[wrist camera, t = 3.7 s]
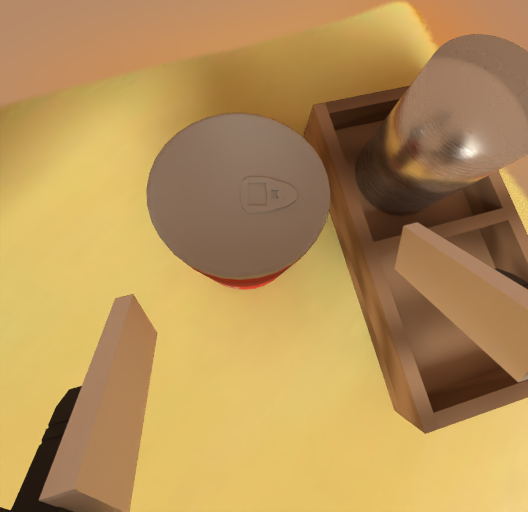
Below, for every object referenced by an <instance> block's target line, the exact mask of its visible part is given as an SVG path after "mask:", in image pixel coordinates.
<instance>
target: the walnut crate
mask: <svg viewBox="0 0 528 512" xmlns="http://www.w3.org/2000/svg"><path fill="white" fill-rule="evenodd" d="M409 87H410V86H407V87H401V88H396V89H391V90H386V91H381V92H376V93H371V94H366V95H361V96H356V97H351V98H346V99H341V100H336V101H331V102H326V103H321V104H316V105H313V108H312V111H311V114H310V117H309V120H308V123H307V126H306V129H305V132H304V135H305V138H306V141H307V142H308V143H309V144H310V145H311V146H312V147H313V148H314V150H315V151H316V153H317V154H318V156H319V157H320V159H321V161H322V163H323V165H324V168H325V170H326V173H327V175H328V181H329V187H330V207H329V211H330V214H331V217H332V220H333V223H334V226H335V229H336V232H337V236H338V239H339V242H340V245H341V248H342V251H343V254H344V257H345V260H346V263H347V266H348V269H349V272H350V275H351V278H352V281H353V284H354V288H355V291H356V294H357V297H358V300H359V303H360V306H361V309H362V312H363V315H364V318H365V321H366V324H367V327H368V330H369V333H370V336H371V340H372V343H373V346H374V349H375V352H376V355H377V358H378V361H379V364H380V367H381V370H382V373H383V376H384V379H385V382H386V385H387V388H388V391H389V395H390V398H391V401H392V404H393V407H394V410H395V411H396V412H397V413H398V414H400V415H401V416H402V417H404V418H405V419H406V420H408V421H409V422H410V423H412V424H413V425H414V426H416V427H417V428H418V429H420V430H421V431H422V432H424V433H425V434H426V433H429V432H432V431H435V430H437V429H440V428H443V427H446V426H449V425H451V424H454V423H457V422H460V421H463V420H465V419H468V418H471V417H474V416H477V415H479V414H482V413H485V412H488V411H491V410H493V409H496V408H499V407H502V406H505V405H508V404H510V403H513V402H516V401H519V400H522V399H524V398H527V397H528V379H527V380H524V381H521V382H517V381H516V380H515V379H514V378H513V377H512V376H511V375H510V374H509V373H507V372H506V371H505V370H504V369H503V368H502V367H501V366H500V365H499V364H498V363H497V362H495V361H494V360H493V359H492V358H491V357H490V356H489V355H488V354H487V353H486V352H485V351H483V350H482V349H481V348H480V347H479V346H478V345H477V344H476V343H475V342H474V341H473V340H471V339H470V338H469V337H468V336H467V335H466V334H465V333H464V332H463V331H462V330H461V329H459V328H458V327H457V326H456V325H455V324H454V323H453V322H452V321H451V320H450V319H449V318H447V317H446V316H445V315H444V314H443V313H442V312H441V311H440V310H439V309H438V308H437V307H435V306H434V305H433V304H432V303H431V302H430V301H429V300H428V299H427V298H426V297H425V296H423V295H422V294H421V293H420V292H419V291H418V290H417V289H416V288H415V287H414V286H413V285H411V284H410V283H409V282H408V281H407V280H406V279H405V278H404V277H403V276H402V275H401V274H399V273H398V272H397V271H396V270H395V264H396V259H397V254H398V249H399V245H400V240H401V235H402V230H403V226H405V225H409V224H413V223H417V222H418V223H419V224H421V225H423V226H424V227H426V228H428V229H429V230H431V231H433V232H434V233H436V234H437V235H439V236H441V237H442V238H444V239H446V240H447V241H449V242H451V243H452V244H454V245H455V246H457V247H459V248H460V249H462V250H464V251H465V252H467V253H469V254H470V255H472V256H473V257H475V258H477V259H478V260H480V261H482V262H483V263H485V264H487V265H488V266H490V267H491V268H493V269H495V268H498V269H501V270H504V271H506V272H509V273H512V274H514V275H516V276H518V277H519V278H521V279H523V280H525V281H526V282H528V235H527V233H526V230H525V228H524V226H523V224H522V222H521V219H520V217H519V215H518V213H517V211H516V208H515V206H514V204H513V202H512V200H511V197H510V195H509V193H508V191H507V188H506V186H505V184H504V182H503V180H502V177H501V175H500V173H499V171H498V170H497V171H496V172H494V173H492V174H490V175H488V176H486V177H484V178H482V179H480V180H478V181H477V182H475V183H473V184H471V185H469V186H467V187H465V188H463V189H461V190H459V191H458V192H456V193H454V194H452V195H450V196H448V197H446V198H444V199H442V200H440V201H439V202H437V203H435V204H433V205H431V206H429V207H427V208H425V209H423V210H421V211H419V212H417V213H415V214H411V215H405V216H397V215H391V214H388V213H385V212H383V211H380V210H379V209H377V208H375V207H374V206H373V205H371V204H370V203H369V202H368V201H367V200H366V199H365V197H364V196H363V195H362V193H361V192H360V190H359V188H358V185H357V182H356V178H355V165H356V161H357V158H358V156H359V154H360V152H361V151H362V149H363V148H364V147H365V145H366V144H367V143H368V141H369V140H370V139H371V137H372V136H373V135H374V133H375V132H376V131H377V129H378V128H379V127H380V125H381V124H382V123H383V121H384V120H385V119H386V117H387V116H388V115H389V113H390V112H391V111H392V109H393V108H394V107H395V105H396V104H397V103H398V101H399V100H400V99H401V97H402V96H403V95H404V93H405V92H406V91H407V89H408V88H409Z"/></svg>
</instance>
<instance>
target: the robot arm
mask: <svg viewBox="0 0 528 512" xmlns="http://www.w3.org/2000/svg"><path fill="white" fill-rule="evenodd" d="M395 270H396V271H397V272H398V273H399V274H401V275H402V276H403V277H404V278H405V279H406V280H407V281H408V282H409V283H410V284H411V285H413V286H414V287H415V288H416V289H417V290H418V291H419V292H420V293H421V294H422V295H423V296H425V297H426V298H427V299H428V300H429V301H430V302H431V303H432V304H433V305H434V306H435V307H437V308H438V309H439V310H440V311H441V312H442V313H443V314H444V315H445V316H446V317H447V318H449V319H450V320H451V321H452V322H453V323H454V324H455V325H456V326H457V327H458V328H459V329H461V330H462V331H463V332H464V333H465V334H466V335H467V336H468V337H469V338H470V339H471V340H473V341H474V342H475V343H476V344H477V345H478V346H479V347H480V348H481V349H482V350H483V351H485V352H486V353H487V354H488V355H489V356H490V357H491V358H492V359H493V360H494V361H495V362H497V363H498V364H499V365H500V366H501V367H502V368H503V369H504V370H505V371H506V372H507V373H509V374H510V375H511V376H512V377H513V378H514V379H515V380H516V381H517V382H521V381H524V380H527V379H528V282H526V281H525V280H523V279H521V278H519V277H518V276H516V275H514V274H512V273H509V272H506V271H504V270H501V269H498V268H495V269H493V268H491V267H490V266H488V265H487V264H485V263H483V262H482V261H480V260H478V259H477V258H475V257H473V256H472V255H470V254H469V253H467V252H465V251H464V250H462V249H460V248H459V247H457V246H455V245H454V244H452V243H451V242H449V241H447V240H446V239H444V238H442V237H441V236H439V235H437V234H436V233H434V232H433V231H431V230H429V229H428V228H426V227H424V226H423V225H421V224H419V223H418V222H417V223H413V224H409V225H405V226H403V230H402V235H401V240H400V245H399V249H398V254H397V259H396V264H395ZM156 338H157V332H156V330H155V329H154V327H153V325H152V324H151V322H150V321H149V319H148V317H147V316H146V314H145V312H144V311H143V309H142V308H141V306H140V304H139V303H138V301H137V300H136V298H135V296H134V295H133V294H131V295H127V296H123V297H120V298H116V299H115V301H114V303H113V306H112V309H111V311H110V314H109V316H108V319H107V322H106V324H105V327H104V330H103V332H102V335H101V338H100V340H99V343H98V345H97V348H96V351H95V353H94V356H93V359H92V361H91V364H90V366H89V369H88V372H87V374H86V377H85V380H84V382H83V385H82V386H80V387H76V388H73V389H69V391H68V392H67V393H66V394H65V396H64V397H63V398H62V400H61V401H60V402H59V404H58V405H57V406H56V408H55V411H54V413H53V415H52V418H51V420H50V422H49V424H48V426H49V428H48V429H46V431H45V434H44V436H43V438H42V444H41V445H39V447H38V450H37V452H36V454H35V457H34V459H33V461H32V463H31V466H30V468H29V470H28V473H27V475H26V477H25V479H24V482H23V484H22V486H21V489H20V491H19V493H18V496H17V498H16V500H15V502H14V505H13V507H12V509H11V510H7V509H4V508H1V507H0V512H129V511H130V504H131V498H132V491H133V485H134V479H135V472H136V466H137V460H138V453H139V447H140V440H141V434H142V428H143V421H144V415H145V408H146V402H147V396H148V389H149V383H150V376H151V370H152V364H153V357H154V351H155V344H156Z"/></svg>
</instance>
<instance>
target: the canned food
mask: <svg viewBox="0 0 528 512" xmlns="http://www.w3.org/2000/svg"><path fill="white" fill-rule="evenodd" d="M147 206H148V210H149V214H150V217H151V221H152V223H153V225H154V227H155V229H156V231H157V233H158V235H159V236H160V238H161V239H162V240H163V242H164V243H165V244H166V245H167V246H168V248H169V249H170V250H171V251H172V252H173V253H174V255H176V256H177V257H178V258H180V259H181V260H182V261H183V262H185V263H186V264H187V265H189V266H190V267H192V268H193V269H195V270H196V271H198V272H200V273H202V274H204V275H205V276H207V277H209V278H211V279H213V280H215V281H216V282H218V283H220V284H222V285H224V286H227V287H231V288H234V289H244V290H245V289H254V288H258V287H261V286H264V285H266V284H268V283H270V282H272V281H273V280H274V279H276V278H277V277H278V276H279V275H281V274H282V273H283V272H284V271H286V270H287V269H288V268H289V267H291V266H292V265H293V264H294V263H296V262H297V261H298V260H299V259H300V258H301V257H302V256H303V255H304V254H306V252H307V251H308V250H309V249H310V247H311V246H312V245H313V244H314V243H315V241H316V240H317V238H318V236H319V234H320V232H321V230H322V228H323V226H324V224H325V222H326V219H327V215H328V211H329V207H330V187H329V181H328V175H327V173H326V170H325V168H324V165H323V163H322V161H321V159H320V157H319V156H318V154H317V153H316V151H315V150H314V148H313V147H312V146H311V145H310V144H309V143H308V142H307V141H306V140H305V139H304V138H303V137H302V136H301V135H300V134H298V133H297V132H295V131H294V130H293V129H291V128H290V127H288V126H286V125H284V124H282V123H280V122H278V121H276V120H274V119H270V118H267V117H263V116H260V115H255V114H246V113H229V114H220V115H216V116H212V117H207V118H205V119H202V120H200V121H197V122H195V123H193V124H191V125H189V126H188V127H186V128H184V129H183V130H181V131H180V132H178V133H177V134H176V135H175V136H174V137H173V138H172V139H171V140H170V141H168V142H167V143H166V144H165V146H164V147H163V149H162V150H161V151H160V153H159V154H158V156H157V157H156V159H155V161H154V164H153V166H152V168H151V171H150V173H149V179H148V184H147Z"/></svg>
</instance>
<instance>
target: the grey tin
mask: <svg viewBox="0 0 528 512" xmlns="http://www.w3.org/2000/svg"><path fill="white" fill-rule="evenodd" d="M526 155H528V52H527V51H526V50H525V49H523V48H521V47H520V46H518V45H516V44H514V43H512V42H510V41H508V40H505V39H502V38H499V37H496V36H490V35H482V34H475V35H474V34H473V35H465V36H461V37H458V38H455V39H452V40H450V41H448V42H447V43H445V44H444V45H442V46H441V47H440V48H439V49H438V50H437V51H436V52H435V53H434V55H433V56H432V57H431V59H430V60H429V61H428V63H427V64H426V65H425V67H424V68H423V69H422V71H421V72H420V73H419V75H418V76H417V77H416V79H415V80H414V81H413V83H412V84H411V85H410V87H409V88H408V89H407V91H406V92H405V93H404V95H403V96H402V97H401V99H400V100H399V101H398V103H397V104H396V105H395V107H394V108H393V109H392V111H391V112H390V113H389V115H388V116H387V117H386V119H385V120H384V121H383V123H382V124H381V125H380V127H379V128H378V129H377V131H376V132H375V133H374V135H373V136H372V137H371V139H370V140H369V141H368V143H367V144H366V145H365V147H364V148H363V149H362V151H361V152H360V154H359V156H358V158H357V161H356V165H355V178H356V182H357V185H358V188H359V190H360V192H361V193H362V195H363V196H364V197H365V199H366V200H367V201H368V202H369V203H370V204H371V205H373V206H374V207H375V208H377V209H379V210H380V211H383V212H385V213H388V214H391V215H397V216H405V215H411V214H415V213H417V212H419V211H421V210H423V209H425V208H427V207H429V206H431V205H433V204H435V203H437V202H439V201H440V200H442V199H444V198H446V197H448V196H450V195H452V194H454V193H456V192H458V191H459V190H461V189H463V188H465V187H467V186H469V185H471V184H473V183H475V182H477V181H478V180H480V179H482V178H484V177H486V176H488V175H490V174H492V173H494V172H496V171H497V170H499V169H501V168H503V167H505V166H507V165H509V164H511V163H513V162H515V161H516V160H518V159H520V158H522V157H524V156H526Z"/></svg>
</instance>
